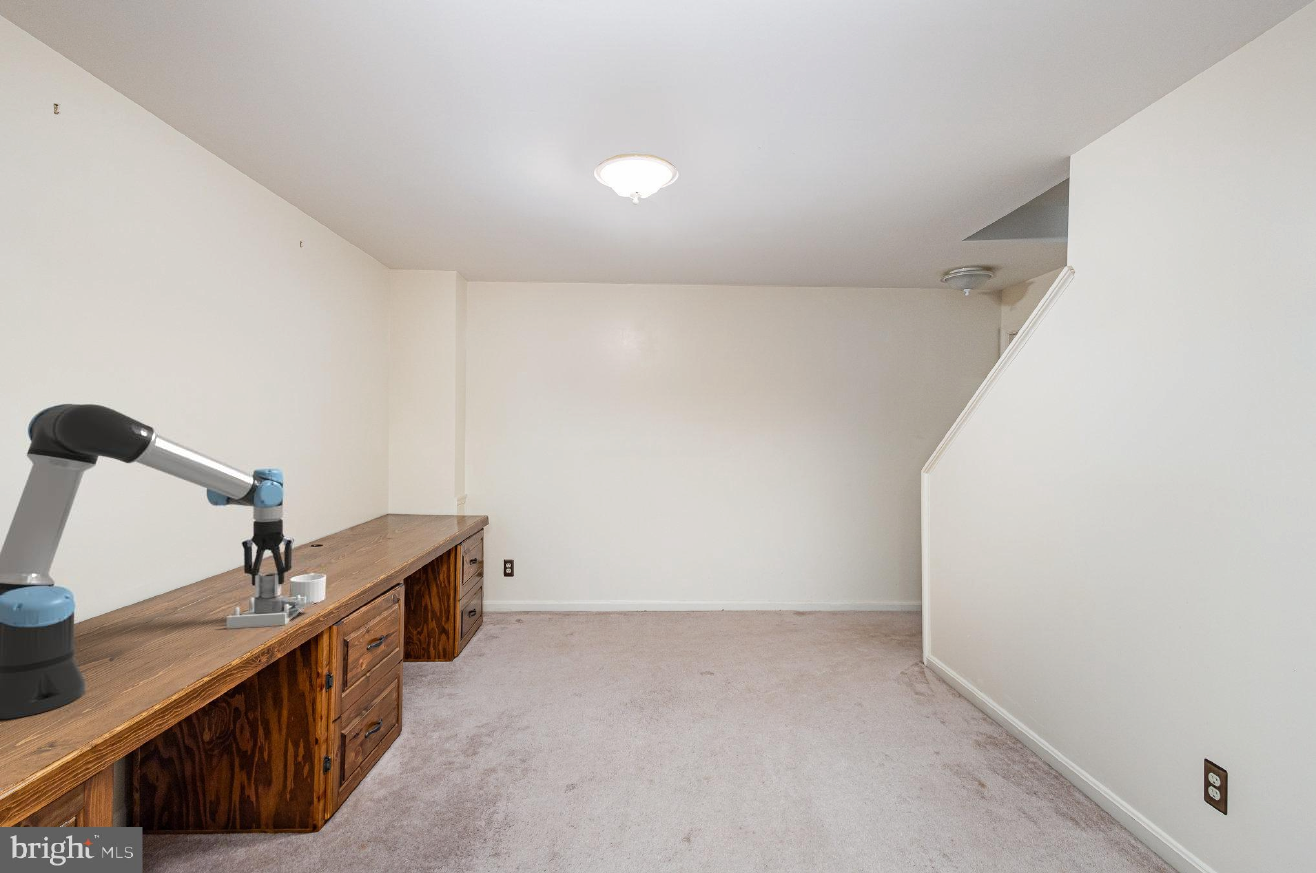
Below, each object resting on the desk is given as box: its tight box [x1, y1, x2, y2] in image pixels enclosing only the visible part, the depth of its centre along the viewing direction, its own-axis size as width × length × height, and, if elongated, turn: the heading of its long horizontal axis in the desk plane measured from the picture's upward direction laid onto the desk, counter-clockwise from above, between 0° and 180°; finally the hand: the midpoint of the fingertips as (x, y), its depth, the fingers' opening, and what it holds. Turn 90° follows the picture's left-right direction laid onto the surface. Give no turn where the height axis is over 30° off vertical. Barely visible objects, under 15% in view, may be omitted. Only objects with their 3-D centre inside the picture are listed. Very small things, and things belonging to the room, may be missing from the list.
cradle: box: [226, 595, 306, 630], centre depth 180 cm, size 18×15×5 cm
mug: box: [289, 572, 327, 605], centre depth 198 cm, size 13×10×8 cm
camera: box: [254, 572, 315, 614], centre depth 182 cm, size 9×12×15 cm
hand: (268, 595), depth 181 cm, fingers open, 4 cm apart
